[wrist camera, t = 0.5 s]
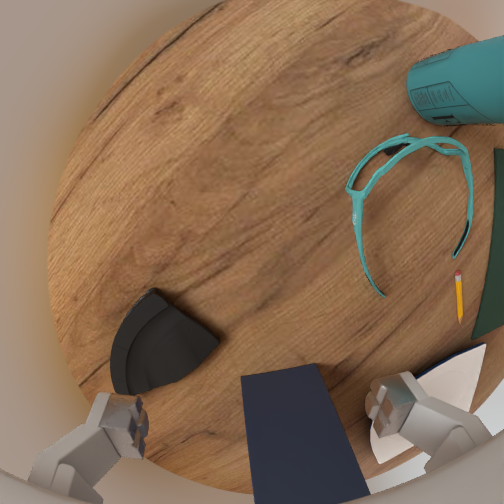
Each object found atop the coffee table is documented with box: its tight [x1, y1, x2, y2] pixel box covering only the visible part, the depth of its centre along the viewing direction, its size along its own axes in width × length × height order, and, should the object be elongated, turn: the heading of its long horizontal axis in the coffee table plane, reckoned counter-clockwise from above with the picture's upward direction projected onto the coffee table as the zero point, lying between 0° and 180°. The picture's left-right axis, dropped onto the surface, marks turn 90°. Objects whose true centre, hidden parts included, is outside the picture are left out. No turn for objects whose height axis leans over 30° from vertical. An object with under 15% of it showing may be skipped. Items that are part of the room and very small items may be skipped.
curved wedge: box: [110, 288, 220, 396], centre depth 26 cm, size 8×14×2 cm, turn 134°
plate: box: [370, 342, 486, 464], centre depth 33 cm, size 20×20×3 cm
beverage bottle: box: [406, 35, 504, 127], centre depth 12 cm, size 6×7×20 cm
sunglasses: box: [345, 133, 473, 298], centre depth 23 cm, size 14×15×5 cm
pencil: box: [455, 270, 463, 324], centre depth 29 cm, size 1×9×1 cm, turn 26°
